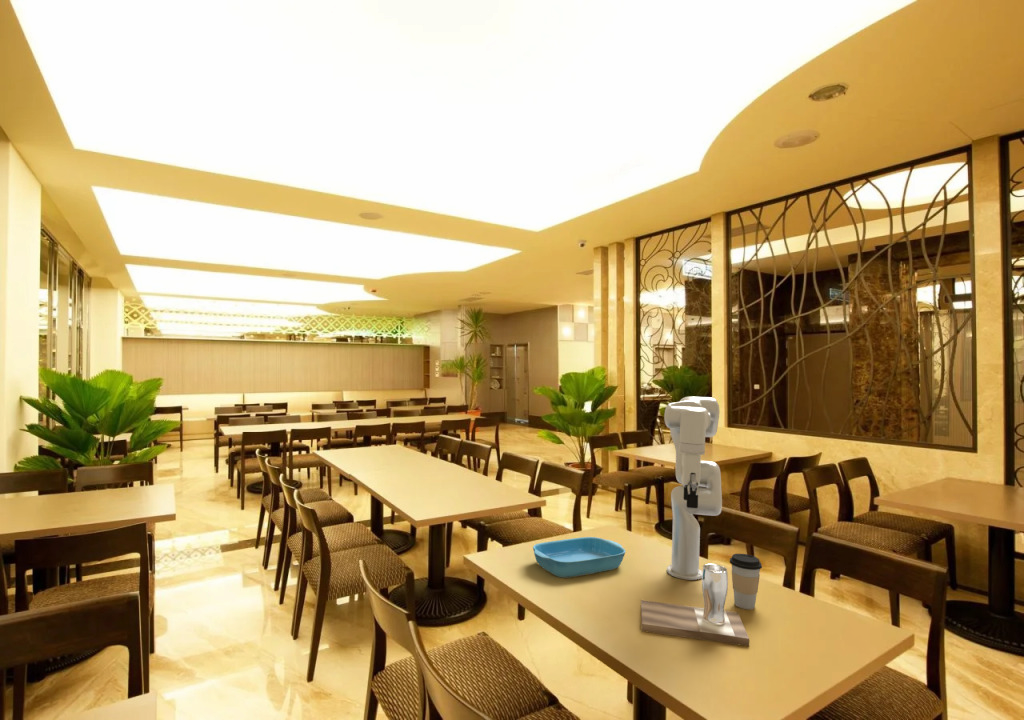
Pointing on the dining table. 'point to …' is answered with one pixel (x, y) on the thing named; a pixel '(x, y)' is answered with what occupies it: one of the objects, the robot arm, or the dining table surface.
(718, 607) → the beer glass
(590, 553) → the casserole dish
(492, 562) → the dining table surface
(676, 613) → the cutting board
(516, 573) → the dining table surface
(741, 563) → the coffee cup
